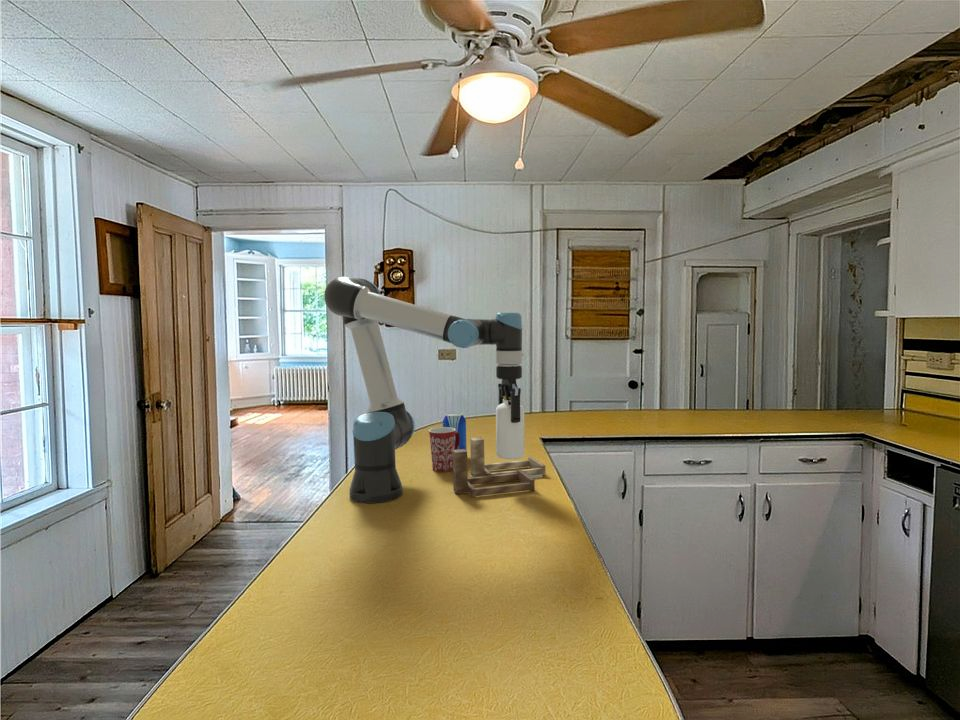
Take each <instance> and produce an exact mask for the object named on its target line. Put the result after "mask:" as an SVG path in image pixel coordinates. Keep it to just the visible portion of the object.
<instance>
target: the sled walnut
mask: <svg viewBox="0 0 960 720" xmlns="http://www.w3.org/2000/svg"><path fill="white" fill-rule="evenodd" d="M468 470H469V469H468V451H466V450H465V449H458V450H453V470H452V477H453V478H452V479H453V480H452V482H453V483H452V484H453V487H452V489H453V492H454V493H455V494H458V495H459V494H469V495H470V497H472V498H473V497H484V496H491V495H500V494H510V493H518V492H527V491H535V484H536V483H535V481H536V480H535V478H532V477H530V476H529V475H527V474H526V473H525V472H523V471H522V470H523V469H520V468H518V469H516V470H517V473H510V474H501V475H491V476H481V477H473V476H471V477H468ZM514 481H515V482H516V481H518V482H519V483H512V484H511V483H510V484H503V485H501V484H500V485H493V486H485V487H474V486H476V485H484V484H493V483H495V484H497V483H504V482H514Z"/></svg>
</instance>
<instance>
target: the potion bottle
mask: <svg viewBox="0 0 960 720" xmlns="http://www.w3.org/2000/svg"><path fill="white" fill-rule="evenodd" d="M503 398H504V399H503V403H502V404H500V405H499V404H498V405H497V406H496V408H495V454H496V456H497V457H498V458H499V459H503V460H518V459H521V458H523V457H524V456H525V407H524V406H523V404H522V405H521V404H520V422H518V423H512V422H511V405H508V400H506V397H505V396H503ZM508 398H509V399H510V400H509V401H510V402H511V397H508Z"/></svg>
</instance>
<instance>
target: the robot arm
mask: <svg viewBox="0 0 960 720" xmlns="http://www.w3.org/2000/svg"><path fill="white" fill-rule="evenodd" d="M323 295H324V296H323V297H324V303H325V305H326V307H327V308H328V310H330V312H331V313H333V314H334V315H336V316H340V317H342V320H343V324H344V325H343V326H344V327H345V328H348V329H349V330H350V331H351V335H352V339H353V344H354V347H355V350H356V354H357V357H358V362H359V365H360V366H359V367H360V368H361V369H360V370H361V373H362V377H363V380H364V385H365V388H366V392H367V396H368V400H369V403H370V406H369V407H368V409H367V413H364V414H361V415H358V416H357V417H356V418H355V419H354V420H353V427H352V437H353V439H352V440H353V454H354V455H353V456H354V458H353V459H354V460H353V461H354V473H353V475H352V479H351V483H350V487H349V493H348V494H349V499H350V500H351V501H353V502H354V503H355V502H356V503H360V504H362V503H363V504H378V503H386V502H390V501H394V500H396V499H399V498H400V497H402V495H403V484H402V481H401V478H400V476H399V473H398V470H397V467H396V450H397V449H400V448H401V447H403V446H405V445H406V444H407V443H408V442H409V441H410V440H411V438H412V437H413V434H414V432H415V429H416V428H415V427H416V426H415V419H414V417H413V416H412V414H411V413H410V412H409V411H407V410H406V406H405V401H404V400H402V399H400V398H399V397H398V394H397V390H396V387H395V386H396V385H395V383H394V379H393V374H392V372H391V367H390V363H389V361H388V360H389V359H388V355H387V353H386V348H385V345H384V340H383V336H382V333H381V329H380V325H379V323H381V324H383V325H384V324H385V325H389V326H392V327H395V328H398V329H401V330H405V331H409V332H412V333H416V334H418V335H422V336H425V337H429V338H433V339H436V340H439V341H443V342H446V343H449V344H452V345H453V347H456V348H460V349H467V348H470V347H473V346H483V345H485V346H486V345H488V346H489V345H491V346H494V345H495V347H496V349H495V350H496V351H495V364H497V365H496V367H495V368H496V369H495V371H496V372H495V373H496V375H495V377H496V379H500V380H501V383H497V384H498V385H497V387H498V405H500V404H502V403H503V399H504V398H503V396H505V397H506V400H508V405H511V422H512V423H518V422H520V405H521V392H522V389H521V388H519V387H518V385H517V380H519V379H520V380H521V378H522V377H523V375H522V373H523V367H522V365H521V364H522V360H523V359H522V357H523V356H524V354H523V352H522V351H523V349H522V348H523V347H522V346H523V345H522V344H523V326H522V323H523V322H522V321H523V320H522V314H520V313H519V312H497V313H496V314H495V318H492V319H484V318H483V319H480V318H479V319H477V318H476V319H474V318H472V319H470V318H463V317H459V316H455V315H452V314H448V313H444V312H442V311H438V310H434V309H431V308H428V307H424V306H421V305H417V304H413V303H410V302H407V301H403V300H400V299H396V298H393V297H389V296H385V295H382V293H381V292H380V289H379V287H377V285H376V284H374V283H373V282H371V281H369V280H367V279H364V278H356V277H355V278H354V277H348V276H340V277H336V278H334V279H332V280H331V281H330V282H329V283H328V284H327V286H326V287H325V289H324V294H323ZM508 397H511V402H510V401H509V400H510V399H509V398H508Z"/></svg>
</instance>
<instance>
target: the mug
mask: <svg viewBox="0 0 960 720" xmlns="http://www.w3.org/2000/svg"><path fill="white" fill-rule="evenodd" d="M428 434H429V444H430V454H431V455H430V456H431V462H432V463H431V465H432V466H431V467H432V470H433V471H434V472H439V473H443V472H445V473H446V472H451V471H453V450H458V447H459V442H460V435H459V433H458V432H456V429H454V428H449V427H443V426H442V427H441V426H440V427H434V428H430V429H428Z"/></svg>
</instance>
